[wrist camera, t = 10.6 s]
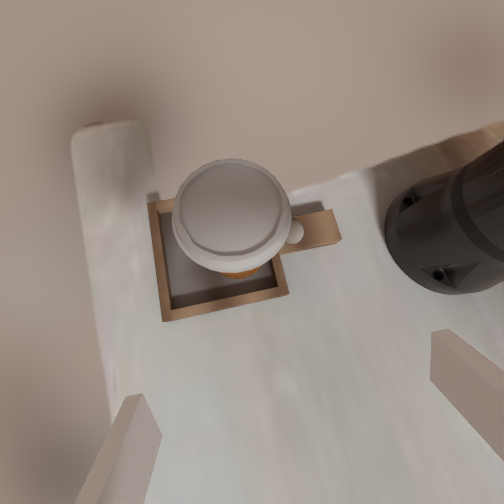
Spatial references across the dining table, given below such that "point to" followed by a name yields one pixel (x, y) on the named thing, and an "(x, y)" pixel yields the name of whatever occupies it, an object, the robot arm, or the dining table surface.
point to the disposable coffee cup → (231, 217)
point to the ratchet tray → (214, 283)
